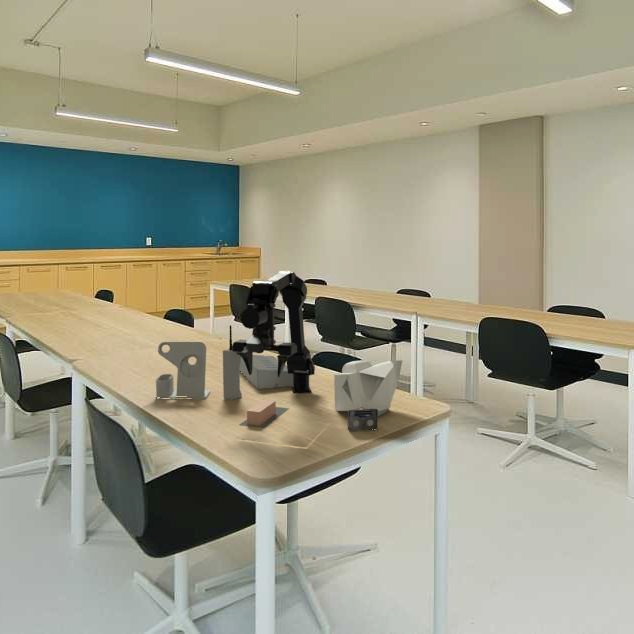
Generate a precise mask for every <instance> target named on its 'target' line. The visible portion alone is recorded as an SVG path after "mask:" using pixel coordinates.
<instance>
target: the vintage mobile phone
mask: <svg viewBox="0 0 634 634" xmlns="http://www.w3.org/2000/svg"><path fill="white" fill-rule="evenodd" d="M232 331H233V330H232V325H229V339H228V340H229V348H228V349H223V350H222V373H223V374H222V375H223V376H222V377H223V378H222V379H223V381H222V382H223V383H222V386H223V387H222V388H223V391H222V393H223V400H229V401H233V400H236V399H240V398H241V397H243V396H242V395H243V394H242V391H241V388H240V386H241V383H240V382H241V380H240V379H241V378H240V373H241V372H240V369H239V367H240V364H241V356H240V355H237V354H236V353H237V352H233V351H232V345H233V339H232V336H233V335H232V334H233V333H232Z"/></svg>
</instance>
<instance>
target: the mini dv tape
mask: <svg viewBox="0 0 634 634" xmlns="http://www.w3.org/2000/svg"><path fill="white" fill-rule="evenodd" d="M378 418H379V417H378V410H377V409H362V408H361V409H358V410H348V411H347V431H348V430H349V431H348V432H358V431H357V430H371V431H375V430H374V429H377V430H378V421H379V420H378ZM372 429H373V430H372Z"/></svg>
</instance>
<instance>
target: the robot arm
mask: <svg viewBox="0 0 634 634" xmlns="http://www.w3.org/2000/svg"><path fill="white" fill-rule="evenodd" d="M279 293H280V295H281V298H282V299H281V300H282V302H283V304H284V305H285V306H286V308H287V310H288V311H287V312H288V313H287V314H288V321H289V323H288V324H289V335H290V342H285V341H284V342H282V343H280V344H276V343H277V341H276V339H275V331H276V327H277V326H275V308H276V301H277V299H278V298H279ZM307 295H308V288H307V285H306V283H305V280H303V279H302V278H301V277H299V276H297V274H296V272H295V271H292V270H280V271H278V272H277V273H276V274H275V275H273V276H271V277H270V278H268V279H266V280H264V279H263V280H255V281H253V282H252V283H251V286H250V288H249V291H248V295H247V298H246V301H245V306H246V308H245V309H244V310H243V311H242V312H241V315H240V322H241V324H242V326H244V327H245V328H246V329H252V334H251V335H250V336H249V337H248V338H247V339H239V340H236V341H234V342H232V351H233V352H237V353H236V354H237V355H240V356H241V357H242V358H243V360H244V362H245V365H246V367H247V370H248V373H249V375H251V374H252V363H253V355H254V354H253V353H256V354H263V353H264V352H265V351H270V352H277V353H278V355H277V356H276V357H277V358H276V359H278V377H280V376H281V373H282V371H283V368H284V366H285V365H286V366H287V369H288V374H293V386H291V391H292V393H312V389H311V387H310V376H312V375H313V376H314V375H315V373H316V372H315V370H316V366H315V364H314V362H313V359H312V356H311V351H310V350H309V348H308V347H307V346H306V344H305V341H306V340H305V329H304V315H303V305H304V303H305V302H306V300H307Z"/></svg>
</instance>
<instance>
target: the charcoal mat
mask: <svg viewBox="0 0 634 634" xmlns="http://www.w3.org/2000/svg"><path fill="white" fill-rule="evenodd" d="M288 410H290V408H289V407H279V406H276V414H275V415H273V416H272V417H271V418H269V419H268V420H267V421H265V422H264V423H263V424H261V425H260V426H259V425H250V424H247V419H246V420H243V422H241V423H240V424H239V426H243V427H250V428H251V427H252V428H260V429H265V428H267V427H268V426H269V425H270V424H272V423H273V422H274V421H276V420H277V419H278V418H279V417H281V416H282V415H284V414H285V412H287V411H288Z"/></svg>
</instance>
